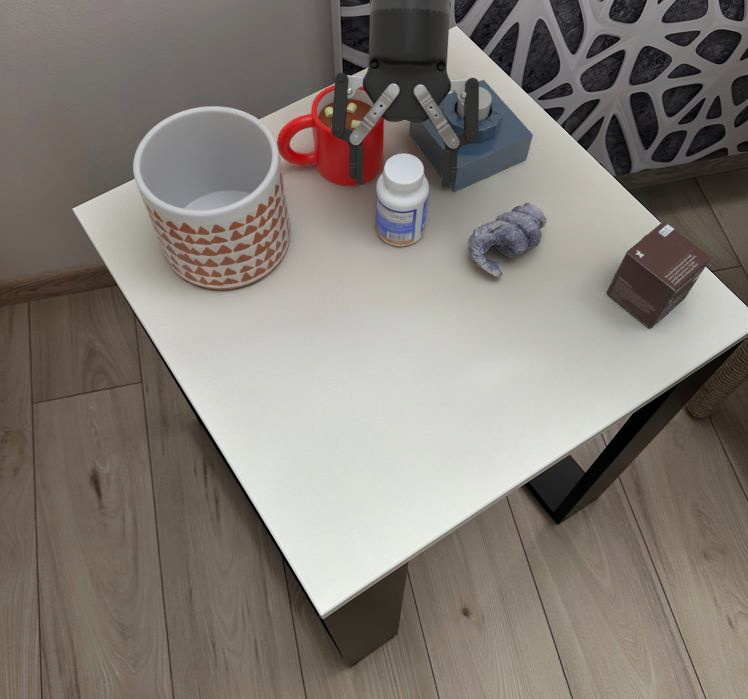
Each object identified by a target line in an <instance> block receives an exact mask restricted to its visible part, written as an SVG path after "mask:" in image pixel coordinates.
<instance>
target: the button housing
mask: <svg viewBox="0 0 748 699" xmlns="http://www.w3.org/2000/svg"><path fill="white" fill-rule="evenodd" d="M478 82H479V87H482V88H484V89H486V90H487V91H488V92H489V93H490V95H491V98H492V100H491V106H490V111H489V115H488V117H487V118H486V119H485V120H484V121H482V122H479V126H478V139H477V141H476V142H474V143H469V144H466V145H463V146H461V147H460V148H459V150H458V158H457V174H456V179H455V181H454V182H449V188H450V189H451V190H452V192H453V193H456V192H458V191H460V190H462V189H464V188H467V187H469V186H471V185H473V184H476V183H478V182H480V181H483V180H485V179H486V178H489V177H492V176H494V175H496V174H498V173H500V172H502V171H504V170H507V169H509V168H511V167H513V166H515V165H517V164H520V163H522V162H524V161H527V159H528V157H529V156H528V155H529V152H530V148H531V143H532V140H533V136H534V134H533V133H532V132H531V130H529V128H528V127H527V126H526V125H525V124H524V123H523V122H522V121H521V119H520V118H519V117H517V115H516V114H515V113H514V112H513V110H511V108H510V107H509V106H508V105H507V104H506V103H505V102H504V100H503V99H502V98H501V97H500V96H499V95H498V93H497V92H496V91H495V90H494V89H493V88H492V87H491V86H490V85H489V83H488V82H487V81H486V80H485V79H481V80H478ZM457 104H458V100H457V97H456V94H455V92H454V91H451V92H449V93H448V95H447V96H446V97H445V98H444V100H443V101H442V102H441V104H440V105H439V106H438V108H439V109H440V111H441V112H442V114H443V115H444V117H445V118H446V120H447V121H448V123H449V125H450V126H451V128H452V130H453V131H454V133H455V134H458V133H461V132H464V120H462V119H461V118H460V117H459V116H458V114H457ZM435 117H436V116H435ZM408 129H409V130H408V136H409V137H410V138H411V140H412V141H413V142H414V144H416V146H417V147H418V149H419V150H420V151H421V153H423V155H424V156H425V158H426V159H427V160H428V161H429V162H430V164H431V165H432V166H433V168H434V169H435V170H436V171H437V172H438V174H439V175H440V176H441V170H442V153H443V149H445V142H444V141H443V139H442V138H441V136H440V135H439V133H438V132H437V130H436V129H435V128H434V126H433V125H432V123H431V122H430V120H429V119H428V120H426V121H424V122H421V123H412V122H409V125H408Z"/></svg>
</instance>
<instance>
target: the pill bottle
mask: <svg viewBox="0 0 748 699" xmlns="http://www.w3.org/2000/svg"><path fill="white" fill-rule="evenodd" d="M375 189H376V190H375V193H376V194H375V196H376V198H375V199H376V200H375V206H376V207H375V228H376V233H377V235H378V236H379V237H380V239H381V240H382V241H383V242H385V243H386V244H388V245H391V246H394V247H407V246H410V245H412V244H414V243H416V242H417V241H419V240H420V239H421V238H422V236H423V234H424V232H425V229H426V223H427V222H426V221H427V211H428V203H429V195H430V194H429V192H430V184H429V181H428V179H427V177H426V175H425V167H424V164H423V162H422V161H421V159H419V158H418V157H417V156H415V155H413V154H411V153H410V154H409V153H397V154H394V155H392V156H390V157H389V158H388V159H387V160H386V162H385V163H384V165H383V172H382V173H381V174H380V175H379V177H378V179H377V181H376V188H375Z"/></svg>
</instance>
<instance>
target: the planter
mask: <svg viewBox="0 0 748 699" xmlns="http://www.w3.org/2000/svg"><path fill="white" fill-rule="evenodd" d="M132 171H133V177H134V181H135V184H136V186H137V189H138V191H139V194H140V196H141V199H142V202H143V204H144V206H145V209H146V212H147V214H148V217H149V218H150V222H151V224H152V227H153V230H154V232H155V235H156V237H157V241H158V242H159V245H160V246H161V250H162V252H163V255H164V257H165V259H166V261H167V263H168V264H169V266H170V268H171V269H172V270H173V271H174V272H175V273H176V274H177V275H178V276H179V277H180V278H182V279H183V280H185V281H186V282H188V283H190V284H192V285H194V286H197V287H201V288H203V289H204V288H205V289H209V290H221V291H223V290H234V289H239V288H243V287H246V286H249V285H252V284H255V283H256V282H258V281H260V280H262V279H264V278H265V277H267V275H269V274H270V273H272V271H274V270H275V268H277V267H278V265H279V264H280V263H281V261H282V260H283V258H284V257H285V255H286V253H287V251H288V249H289V244H290V241H291V240H290V238H291V229H290V227H291V226H290V219H289V213H288V207H287V206H288V205H287V198H286V192H285V184H284V178H283V170H282V164H281V155H280V154H279V150H278V146H277V139H276V137H275V136H274V134H273V133H272V131H271V130H270V128H269V127H268V126H267V125H266V124H265V123H264V122H262V121H261V120H260V119H259V118H258V117H256V116H254V115H252V114H250V113H248V112H246V111H243V110H240V109H238V108H233V107H227V106H218V105H217V106H216V105H211V106H210V105H209V106H199V107H194V108H189V109H185V110H182V111H179V112H177V113H174V114H171V115H170V116H168V117H166V118H164V119H163V120H161V121H160V122H158V123H156V125H155V126H153V127H152V128H151V129H150V130H149V131H147V133H146V135H144V137H143V138H142V139H141V141H140V142H139V143H138V146H137V148H136V151H135V154H134V156H133V163H132Z"/></svg>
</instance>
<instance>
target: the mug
mask: <svg viewBox="0 0 748 699" xmlns="http://www.w3.org/2000/svg"><path fill="white" fill-rule="evenodd" d="M334 89H335V84H333V85H331V86H327V87H326V88H324V89H323V90H321V91H320V92H319V93H318V94H317V95H316V97H314V99H313V101H312V103H311V108H310V113H307V114H303V115H299V116H296V117H294V118H293V119H291V120H290V121H288V122H287V123H285V125H284V126H283V127H282V128H281V129H280V131H279V133H278V135H277V138H276V142H277V146H278V150H279V156H280V157H281V158H282V159H283V160H284V161H285V162H287V163H289V164H291V165H294V166H300V167H301V166H303V167H304V166H313V165H315V167H316V169H317V171H318V173H319V174H320V175H321V177H323V178H324V179H325V180H326V181H328V182H330V183H332V184H335V185H338V186H342V187H343V186H344V187H353V186H354V187H355V186H357V185H356V178H351V177H350V174H349V152H350V147H349V144H348V143H347V142H346V141H344V140H342V139H339V138H337V137H334V136H333V135H332V133H331V128H332V115H333V102H334ZM373 105H374V104H373V103H372V101H371V100H370V98H369V96H368V95H367V93H366V92H365V90H364V88H363V87H361V88H359V89H358V90H357V91H356V95H355V96H354V97H353V98H348V102H347V114H346V127H347V128H349V129H352V130H355V129H356V127H357V126H358V125H359V124H360V122H361V121H362V120H363V118H364V117H365V116H366V114H367V113H368V112H369V110H370V109H371V108H372V107H373ZM375 115H376V113H375ZM309 128H310V129H311V128H312V138H313V151H310V152H300V151H299V152H298V151H296V150H294V149H293V148H292V147H291V142H292V139H293V138H294V136H295V135H296V134H298V133H299V132H301V131H303V130H305V129H309ZM384 144H385V119H384V118H382V117H381V118H380V119H379V121H378V122H377V123H376V125H375V126H374V127H373V128H372V129H371V131H370V132H369V133H368V135H367V136H366V137H365V138H364V140H363V144H362V146H364V175H363V185H364V184H366V183H368V182H370V181H372V180H374V178H376V177H377V176H378V174H379V173H380V172H381V170H382V168H383V166H384V149H385V148H384V147H385V146H384Z"/></svg>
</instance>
